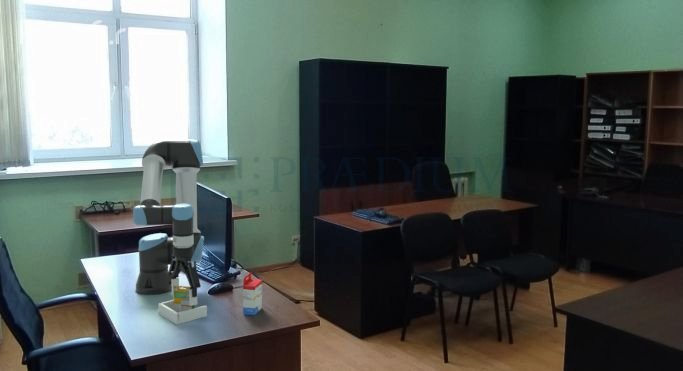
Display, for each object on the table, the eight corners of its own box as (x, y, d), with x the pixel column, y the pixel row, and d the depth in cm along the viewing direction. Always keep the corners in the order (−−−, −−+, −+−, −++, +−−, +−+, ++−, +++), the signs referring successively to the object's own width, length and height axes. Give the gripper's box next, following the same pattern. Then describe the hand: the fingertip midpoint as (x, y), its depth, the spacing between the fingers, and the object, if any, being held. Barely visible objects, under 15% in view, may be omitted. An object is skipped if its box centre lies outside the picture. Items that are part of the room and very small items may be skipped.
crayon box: (195, 313, 222) (194, 284, 220) (191, 316, 219) (191, 287, 217) (177, 312, 223) (176, 283, 221) (173, 315, 220) (173, 285, 218)
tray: (158, 313, 221) (158, 303, 220) (188, 305, 229) (188, 296, 229) (176, 324, 211) (176, 314, 210) (206, 316, 219) (206, 306, 219)
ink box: (254, 315, 221) (254, 279, 219) (242, 314, 222) (242, 277, 219) (262, 308, 229) (262, 272, 227) (250, 306, 230) (250, 271, 228)
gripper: (158, 240, 223) (159, 293, 226) (191, 254, 205) (192, 311, 208) (176, 237, 228) (177, 289, 231) (209, 250, 210) (210, 306, 213)
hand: (184, 299), depth 220 cm, fingers open, 13 cm apart
